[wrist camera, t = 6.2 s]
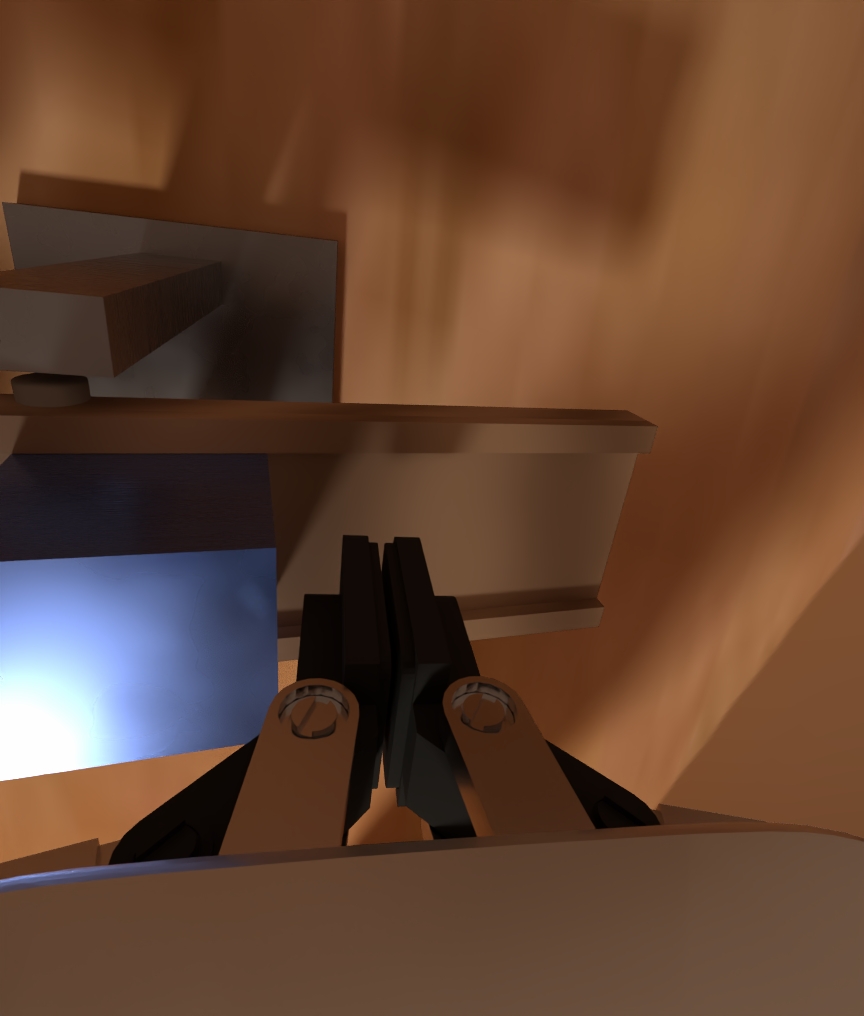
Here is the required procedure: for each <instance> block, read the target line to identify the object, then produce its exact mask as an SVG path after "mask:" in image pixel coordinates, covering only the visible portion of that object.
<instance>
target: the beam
mask: <svg viewBox="0 0 864 1016" xmlns="http://www.w3.org/2000/svg"><path fill="white" fill-rule="evenodd" d="M11 384H12V389H13V394H0V465H1V464H2V463H3V462H4V461H5V460H6V459H7V458H8V457H9V456H10V455H11V454H86V453H267V456H268V467H269V478H270V488H271V499H272V510H273V520H274V531H275V541H276V577H277V647H278V662H279V661H289V660H298V657H299V646H300V635H301V624H302V613H303V602H304V594H339V589H340V572H341V555H342V539H343V535H363V536H368V538H369V542H377V543H378V548H379V556H380V565H381V571H382V561H383V551H384V544H385V543H393V540H394V537H419V538H420V540H421V544H422V548H423V552H424V556H425V560H426V563H427V567H428V571H429V575H430V579H431V583H432V587H433V591H434V595H435V596H454V597H456V600H457V602H458V605H459V608H460V612H461V615H462V618H463V621H464V625H465V628H466V631H467V634H468V638H469V641H472V640H481V639H490V638H499V637H508V636H518V635H527V634H536V633H545V632H554V631H563V630H573V629H582V628H591V627H599V624H600V621H601V618H602V614H603V611H604V606H603V605H602V604H601V603H600V602H599V600H598V599H597V595H598V591H599V588H600V584H601V581H602V577H603V574H604V570H605V567H606V563H607V560H608V556H609V553H610V549H611V546H612V542H613V539H614V535H615V532H616V528H617V525H618V521H619V518H620V514H621V511H622V507H623V504H624V500H625V497H626V493H627V490H628V486H629V483H630V479H631V476H632V472H633V469H634V465H635V462H636V458H637V455H638V453H650V452H651V448H652V445H653V442H654V438H655V435H656V431H657V428H658V426H656V425H654V424H652V423H650V422H648V421H646V420H645V419H643V418H641V417H639V416H637V415H635V414H633V413H631V412H629V411H626V410H588V409H550V408H512V407H474V406H436V405H398V404H360V403H322V402H285V401H247V400H209V399H171V398H133V397H95V396H91V395H90V388H89V382H88V378H87V377H85V376H79V375H64V374H50V373H31V374H25V375H20V376H17V377H14V378H13V379H11Z"/></svg>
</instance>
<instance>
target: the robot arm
mask: <svg viewBox="0 0 864 1016" xmlns="http://www.w3.org/2000/svg"><path fill="white" fill-rule="evenodd" d="M382 753H383V765H384V777H385V786H386V788H396V796H397V806H398V807H400V806H407V807H408V808H409V809H411V810H412V811H413V812H414V813H416V814H417V815H418V816H419V817H421V818H422V820H421V830H422V836H423V840H424V841H410V842H396V843H381V844H367V845H353V846H347V843H348V834H349V829H350V828H351V827H352V826H353V825H354V824H355V823H356V822H357V821H358V820H359V818H360V817H361V816H362V815H363V814H364V813H365V812H366V811H367V810H368V809H369V808H370V802H371V793H372V789H377V788H378V782H379V773H380V765H381V757H382ZM0 1016H864V838H861V837H858V836H854V835H851V834H848V833H844V832H839V831H834V830H829V829H823V828H818V827H813V826H808V825H797V824H784V823H772V822H765V821H759V820H754V819H748V818H742V817H736V816H730V815H724V814H718V813H712V812H706V811H700V810H694V809H689V808H683V807H677V806H670V805H664V804H658V806H657V809H656V810H652V809H650V808H649V807H648V806H647V805H646V804H645V803H644V802H643V801H642V800H640V799H639V798H638V797H636V796H635V795H634V794H632V793H631V792H629V791H628V790H626V789H624V788H623V787H621V786H619V785H618V784H616V783H615V782H613V781H611V780H610V779H608V778H607V777H605V776H603V775H602V774H600V773H599V772H597V771H595V770H594V769H592V768H590V767H589V766H587V765H586V764H584V763H582V762H581V761H579V760H578V759H576V758H574V757H573V756H571V755H569V754H568V753H566V752H565V751H563V750H561V749H560V748H558V747H557V746H555V745H553V744H552V743H550V742H548V741H547V740H545V739H544V738H543V736H542V734H541V732H540V731H539V729H538V727H537V725H536V724H535V722H534V720H533V718H532V717H531V715H530V713H529V711H528V710H527V708H526V706H525V704H524V703H523V701H522V700H521V698H520V697H519V696H518V694H517V693H516V692H515V691H514V690H513V689H511V688H510V687H509V686H507V685H506V684H504V683H502V682H500V681H498V680H495V679H492V678H488V677H483V676H480V673H479V670H478V667H477V664H476V660H475V657H474V654H473V651H472V647H471V644H470V641H469V638H468V634H467V631H466V628H465V625H464V621H463V618H462V615H461V612H460V608H459V605H458V602H457V600H456V597H454V596H435V595H434V591H433V587H432V583H431V579H430V575H429V571H428V567H427V563H426V560H425V556H424V552H423V548H422V544H421V540H420V538H419V537H394V540H393V543H385V544H384V551H383V561H382V571H381V565H380V556H379V548H378V543H377V542H369V538H368V536H363V535H343V539H342V555H341V572H340V589H339V594H304V602H303V613H302V624H301V635H300V646H299V657H298V668H297V679H296V682H295V683H293V684H291V685H289V686H287V687H285V688H283V689H282V690H281V691H280V692H279V693H278V694H277V695H276V696H275V697H274V699H273V701H272V702H271V704H270V706H269V709H268V712H267V714H266V717H265V720H264V723H263V726H262V729H261V732H260V734H259V735H258V736H256V737H255V738H254V739H252V740H251V741H250V742H248V743H247V744H245V745H244V746H243V747H241V748H240V749H239V750H237V751H236V752H234V753H233V754H232V755H230V756H229V757H227V758H226V759H225V760H223V761H222V762H221V763H219V764H218V765H216V766H215V767H214V768H212V769H211V770H210V771H208V772H207V773H205V774H204V775H203V776H201V777H200V778H199V779H197V780H196V781H194V782H193V783H192V784H190V785H189V786H188V787H186V788H185V789H183V790H182V791H181V792H179V793H178V794H177V795H175V796H174V797H172V798H171V799H170V800H168V801H167V802H165V803H164V804H163V805H161V806H160V807H159V808H157V809H156V810H154V811H153V812H152V813H150V814H149V815H148V816H146V817H145V818H143V819H142V820H141V821H139V822H138V823H137V824H136V825H135V826H134V827H133V828H131V829H130V830H129V831H128V832H127V833H126V834H125V835H124V836H123V837H122V839H121V840H118V841H115V842H111V843H107V844H103V845H100V844H99V840H98V838H96V839H92V840H88V841H84V842H80V843H76V844H72V845H69V846H65V847H61V848H57V849H53V850H49V851H46V852H42V853H38V854H34V855H30V856H26V857H22V858H19V859H15V860H11V861H7V862H3V863H0Z"/></svg>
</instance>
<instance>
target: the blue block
mask: <svg viewBox="0 0 864 1016" xmlns="http://www.w3.org/2000/svg"><path fill="white" fill-rule="evenodd" d="M277 694H278V647H277V577H276V541H275V531H274V520H273V510H272V499H271V488H270V478H269V467H268V456H267V453H86V454H11V455H10V456H9V457H8V458H7V459H6V460H5V461H4V462H3V463H2V464H1V465H0V781H2V780H9V779H15V778H22V777H29V776H35V775H42V774H49V773H55V772H62V771H69V770H75V769H82V768H89V767H95V766H102V765H109V764H116V763H122V762H129V761H136V760H142V759H149V758H156V757H162V756H169V755H176V754H182V753H189V752H196V751H202V750H209V749H216V748H222V747H229V746H236V745H242V744H247V743H248V742H250V741H251V740H252V739H254V738H255V737H256V736H258V735H259V734H260V732H261V729H262V726H263V723H264V720H265V717H266V714H267V712H268V709H269V706H270V704H271V702H272V701H273V699H274V697H275V696H276V695H277Z"/></svg>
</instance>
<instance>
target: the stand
mask: <svg viewBox="0 0 864 1016" xmlns="http://www.w3.org/2000/svg"><path fill="white" fill-rule="evenodd" d="M2 205H3V210H4V215H5V220H6V225H7V230H8V236H9V241H10V246H11V251H12V256H13V261H14V266H15V270H8V271H0V370H6V371H21V372H35V373H50V374H64V375H79V376H85V377H87V378H88V382H89V388H90V395H91V396H95V397H133V398H171V399H209V400H247V401H285V402H322V403H332V393H333V362H334V332H335V301H336V271H337V241H335V240H327V239H318V238H309V237H301V236H292V235H284V234H275V233H267V232H258V231H250V230H241V229H232V228H224V227H215V226H207V225H198V224H190V223H181V222H173V221H164V220H155V219H147V218H138V217H130V216H121V215H113V214H104V213H96V212H87V211H78V210H70V209H61V208H53V207H44V206H36V205H27V204H19V203H6V202H2Z"/></svg>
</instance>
